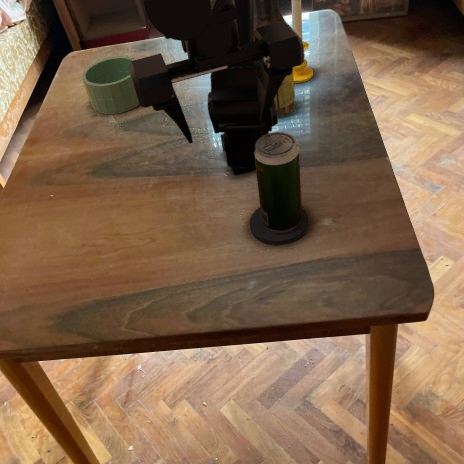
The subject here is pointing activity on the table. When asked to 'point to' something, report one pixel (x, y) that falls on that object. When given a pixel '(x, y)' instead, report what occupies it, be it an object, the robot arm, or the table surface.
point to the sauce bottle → (285, 97)
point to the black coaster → (277, 238)
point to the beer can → (278, 181)
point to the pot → (110, 85)
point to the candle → (302, 71)
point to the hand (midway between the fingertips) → (226, 131)
